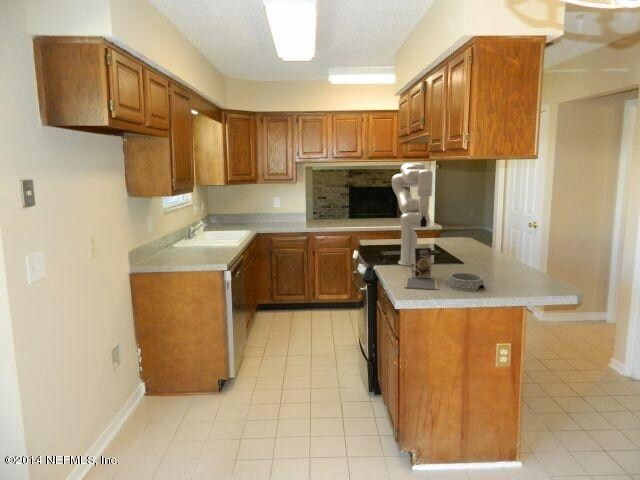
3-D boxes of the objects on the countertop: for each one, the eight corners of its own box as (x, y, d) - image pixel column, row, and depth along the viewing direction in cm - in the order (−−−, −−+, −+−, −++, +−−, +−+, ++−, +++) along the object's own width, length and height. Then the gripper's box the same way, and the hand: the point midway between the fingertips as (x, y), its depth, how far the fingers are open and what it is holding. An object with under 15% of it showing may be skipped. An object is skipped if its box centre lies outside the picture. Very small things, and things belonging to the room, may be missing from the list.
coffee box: (415, 278, 243) (415, 248, 241) (410, 276, 249) (410, 247, 248) (431, 277, 244) (431, 247, 243) (426, 276, 251) (426, 246, 249)
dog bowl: (490, 286, 232) (490, 276, 231) (472, 293, 219) (472, 282, 218) (459, 280, 244) (460, 270, 243) (440, 286, 231) (441, 276, 230)
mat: (406, 279, 245) (406, 277, 244) (436, 280, 241) (436, 279, 241) (404, 288, 227) (404, 287, 227) (437, 290, 224) (437, 289, 224)
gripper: (417, 192, 255) (416, 224, 258) (417, 194, 241) (416, 228, 244) (431, 192, 254) (430, 224, 257) (431, 194, 239) (430, 228, 242)
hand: (423, 226), depth 250 cm, fingers closed
